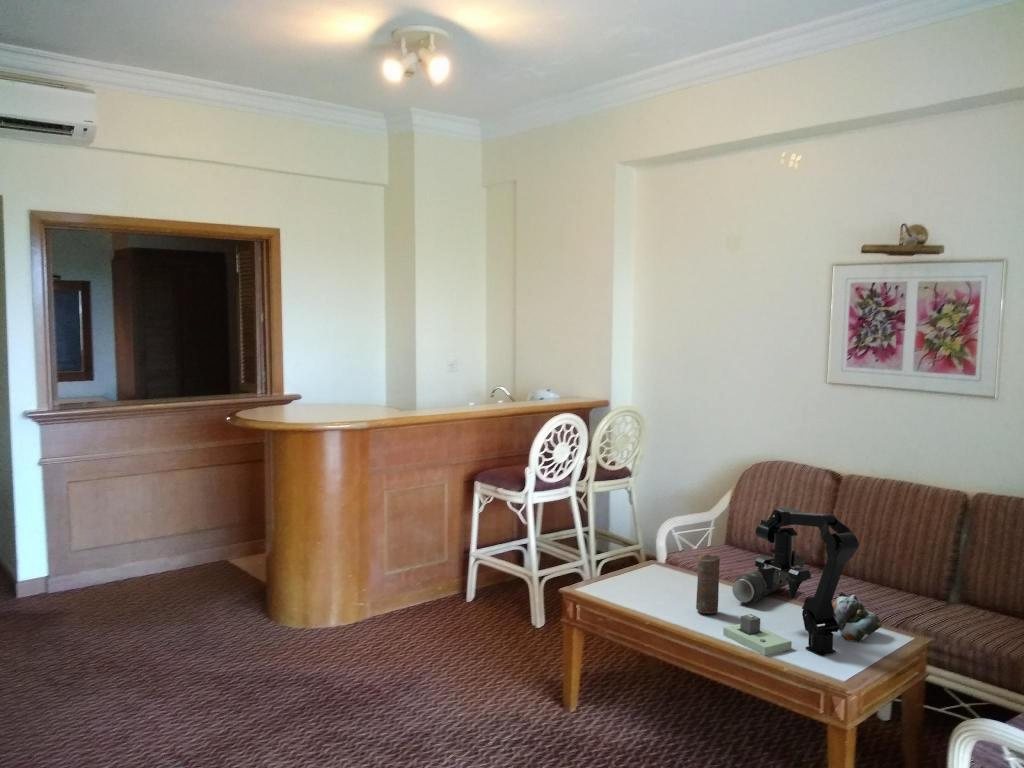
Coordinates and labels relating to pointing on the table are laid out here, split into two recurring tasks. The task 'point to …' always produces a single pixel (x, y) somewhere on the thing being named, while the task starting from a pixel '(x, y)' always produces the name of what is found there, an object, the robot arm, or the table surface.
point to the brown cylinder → (708, 583)
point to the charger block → (750, 624)
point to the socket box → (758, 640)
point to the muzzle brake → (757, 585)
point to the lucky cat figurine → (854, 618)
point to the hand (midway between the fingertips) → (781, 594)
